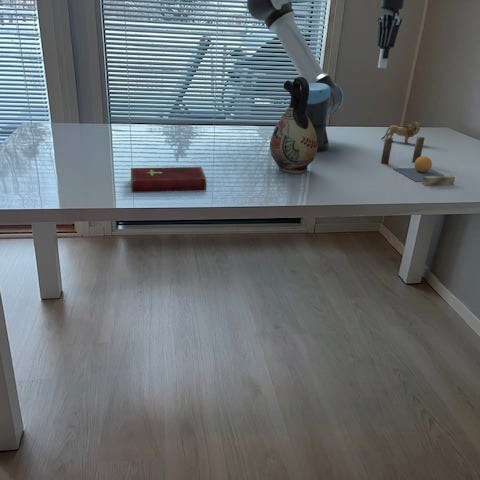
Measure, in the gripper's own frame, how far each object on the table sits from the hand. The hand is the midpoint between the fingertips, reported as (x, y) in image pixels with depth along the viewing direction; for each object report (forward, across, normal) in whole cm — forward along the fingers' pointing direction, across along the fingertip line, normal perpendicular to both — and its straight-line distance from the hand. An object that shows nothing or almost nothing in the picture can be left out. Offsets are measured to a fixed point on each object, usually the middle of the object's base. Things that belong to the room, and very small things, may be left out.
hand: (381, 67), depth 179 cm
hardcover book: (+31, -35, +83) cm, 95 cm away
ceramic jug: (+31, -25, +41) cm, 57 cm away
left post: (+30, -20, +4) cm, 36 cm away
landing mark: (+30, -34, -2) cm, 45 cm away
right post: (+30, -20, -8) cm, 37 cm away
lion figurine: (+31, +9, -19) cm, 37 cm away
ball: (+28, -31, -4) cm, 42 cm away
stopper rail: (+30, -44, -1) cm, 53 cm away
